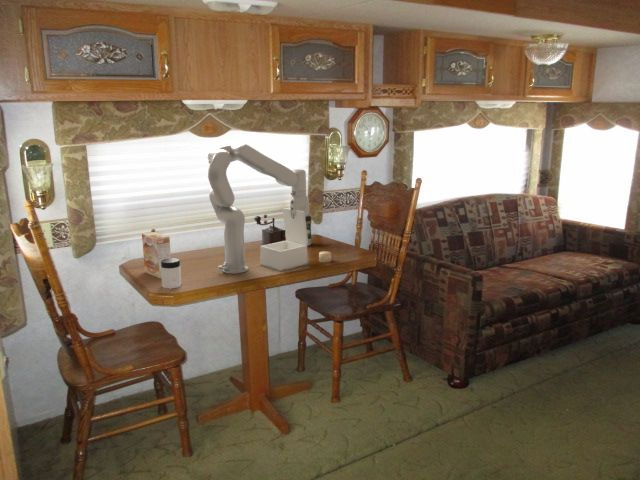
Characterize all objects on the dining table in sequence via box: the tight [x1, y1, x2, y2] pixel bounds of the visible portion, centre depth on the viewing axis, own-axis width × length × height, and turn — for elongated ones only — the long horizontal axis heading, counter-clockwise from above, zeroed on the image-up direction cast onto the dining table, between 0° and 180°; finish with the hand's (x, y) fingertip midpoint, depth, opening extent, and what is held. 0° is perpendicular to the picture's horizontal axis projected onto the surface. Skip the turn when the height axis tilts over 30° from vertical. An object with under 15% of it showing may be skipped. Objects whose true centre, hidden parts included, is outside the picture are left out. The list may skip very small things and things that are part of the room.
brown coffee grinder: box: [253, 215, 287, 246], centre depth 315 cm, size 16×11×18 cm
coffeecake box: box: [141, 231, 172, 279], centre depth 260 cm, size 15×7×20 cm, turn 45°
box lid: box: [281, 207, 310, 247], centre depth 279 cm, size 19×16×1 cm
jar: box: [161, 257, 182, 290], centre depth 242 cm, size 9×8×12 cm
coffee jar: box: [305, 214, 312, 247], centre depth 317 cm, size 10×8×19 cm
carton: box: [259, 239, 308, 272], centre depth 276 cm, size 18×16×10 cm
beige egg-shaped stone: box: [318, 251, 332, 264], centre depth 284 cm, size 6×6×4 cm
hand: (299, 228), depth 281 cm, fingers closed
